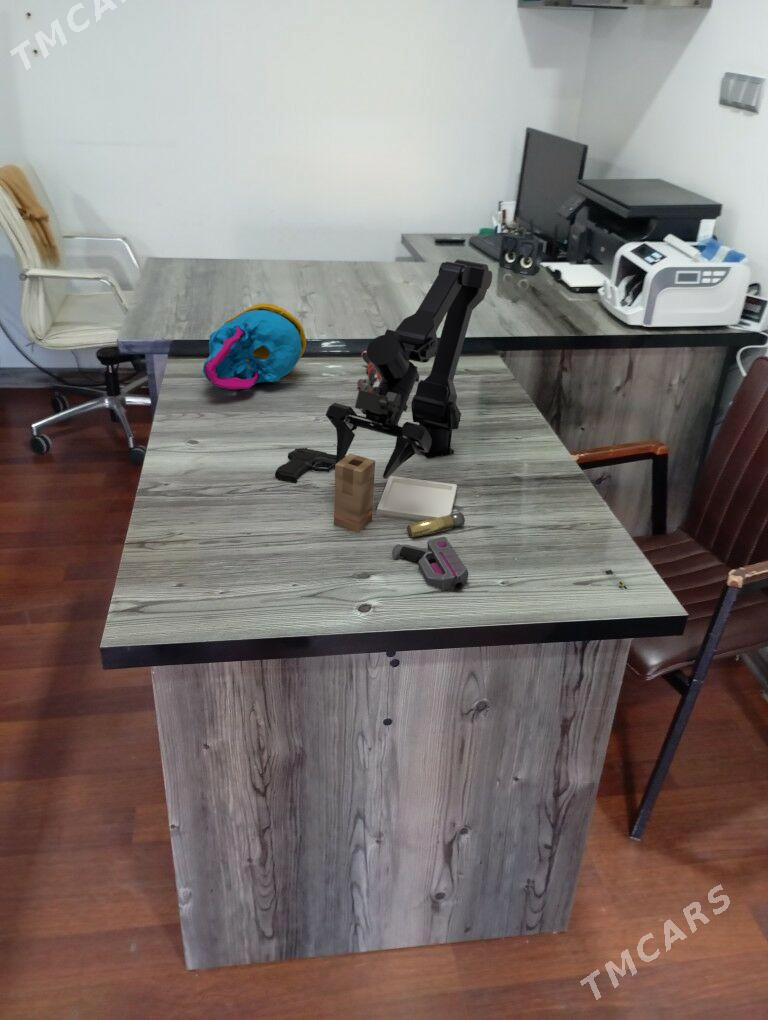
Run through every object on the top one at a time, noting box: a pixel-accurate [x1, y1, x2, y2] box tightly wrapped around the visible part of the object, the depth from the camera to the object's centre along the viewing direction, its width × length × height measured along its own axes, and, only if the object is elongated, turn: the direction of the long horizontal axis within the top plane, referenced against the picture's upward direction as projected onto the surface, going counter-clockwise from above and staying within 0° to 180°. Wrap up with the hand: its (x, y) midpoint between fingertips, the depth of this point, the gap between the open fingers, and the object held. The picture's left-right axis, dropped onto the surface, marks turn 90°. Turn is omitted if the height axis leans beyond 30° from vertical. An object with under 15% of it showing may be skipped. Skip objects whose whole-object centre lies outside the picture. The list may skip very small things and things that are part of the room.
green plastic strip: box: [604, 569, 628, 590], centre depth 136 cm, size 6×1×2 cm
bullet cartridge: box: [406, 511, 466, 539], centre depth 146 cm, size 10×2×2 cm, turn 118°
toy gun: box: [391, 536, 469, 592], centre depth 136 cm, size 14×3×10 cm
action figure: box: [357, 349, 382, 393], centre depth 199 cm, size 10×11×30 cm
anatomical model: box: [202, 302, 307, 390], centre depth 195 cm, size 18×25×25 cm
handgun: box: [274, 447, 347, 484], centre depth 163 cm, size 3×17×12 cm
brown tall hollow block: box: [333, 453, 376, 534], centre depth 144 cm, size 5×5×12 cm
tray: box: [376, 475, 458, 523], centre depth 154 cm, size 13×13×2 cm
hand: (360, 471), depth 144 cm, fingers open, 9 cm apart
